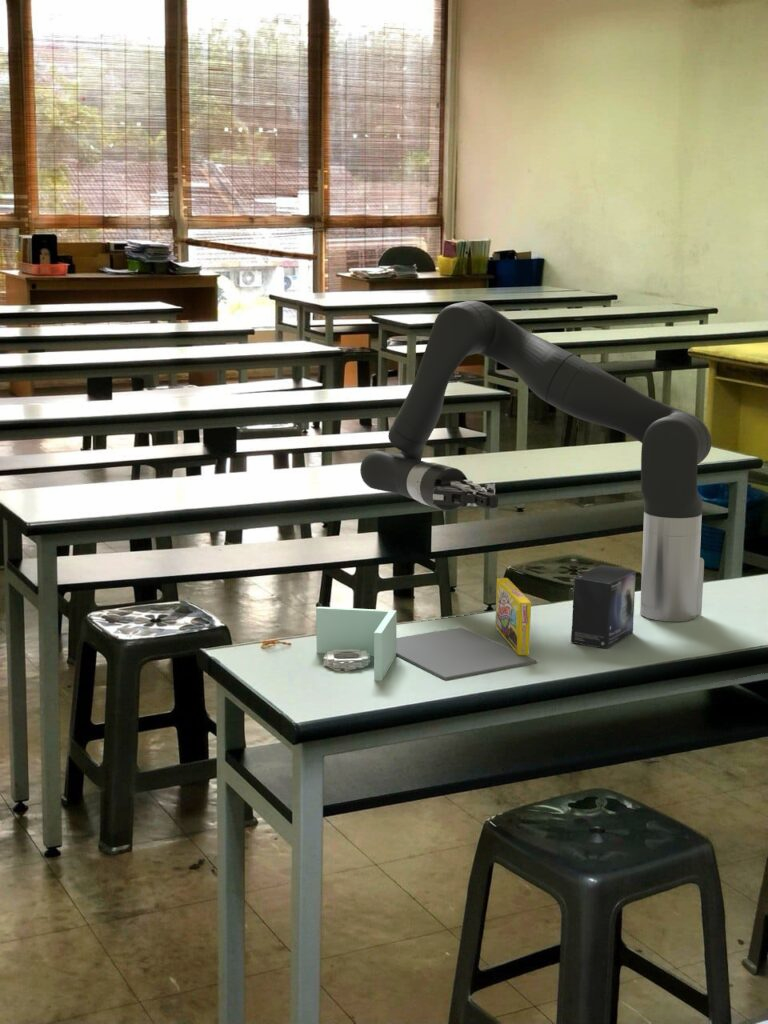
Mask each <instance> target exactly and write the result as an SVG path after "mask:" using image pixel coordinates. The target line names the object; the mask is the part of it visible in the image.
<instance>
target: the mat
mask: <svg viewBox="0 0 768 1024" xmlns="http://www.w3.org/2000/svg"><path fill="white" fill-rule="evenodd" d="M396 657H399V658H401V659H402V660H405V661H406V662H409V663H410V664H413V665H414V666H416V667H418V668H421V669H422V670H424V671H427V672H428V673H430V674H432V675H434V676H435V677H438V678H440V679H442V680H445V681H448V680H454V679H459V678H463V677H468V676H469V677H470V676H474V675H475V676H476V675H479V674H484V673H490V672H495V671H500V670H507V669H511V668H517V667H522V666H527V665H531V664H537V663H538V660H537V659H535V658H534V657H532V656H529V655H527V656H522V655H518V654H517V653H516V651H515V650H514V649H513V648H510V647H509V646H506V645H503V644H501V643H499V642H497V641H494V640H492V639H489V638H487V637H485V636H483V635H481V634H478V633H476V632H473V631H471V630H469V629H466V628H464V627H455V628H447V629H442V630H435V631H430V632H424V633H419V634H418V633H417V634H412V635H407V636H399V637H396Z"/></svg>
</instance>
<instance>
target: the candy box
mask: <svg viewBox="0 0 768 1024" xmlns="http://www.w3.org/2000/svg"><path fill="white" fill-rule="evenodd" d="M495 595H496V596H495V628H496V629H497V631H498V632H499V633H500V634H501V636H502V637H503V638H504V639H505V640H506V642H507V643H508V644H509V646H510V647H511V649H513V650H515V651H516V653H517V654H518V655H522V656H529V655H530V644H531V621H532V620H531V616H532V615H531V613H532V602H531V601H530V600H529V599H528V598H527V596H526V595H525V594H524V593H523V592H522V591H521V590H520V589H519V588H518V587H517V586H516V585H515V584H514V583H513V582H512V581H511V580H510V579H509V578H508V577H498V578H497V579H496V594H495Z"/></svg>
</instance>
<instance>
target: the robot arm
mask: <svg viewBox="0 0 768 1024" xmlns="http://www.w3.org/2000/svg"><path fill="white" fill-rule="evenodd" d="M476 354H477V355H480V356H484V357H486V358H488V359H490V360H491V359H492V360H493V361H495V362H497V363H499V364H501V365H503V366H505V367H506V368H509V369H510V370H511V371H513V372H514V373H515V374H516V375H517V376H518V377H519V378H520V379H521V380H522V381H523V382H524V384H525V386H527V387H528V388H529V389H530V390H531V392H532V393H533V394H535V395H536V396H537V397H538V398H539V399H541V400H543V401H544V402H546V403H547V404H549V405H551V406H553V407H554V408H556V409H558V410H559V411H562V412H563V413H566V414H568V415H569V416H571V417H574V418H576V419H579V420H581V421H585V422H588V423H592V424H594V425H599V426H602V427H606V428H609V429H613V430H616V431H617V432H618V431H619V432H621V433H624V434H625V435H627V436H629V437H631V438H633V439H635V440H636V441H638V442H639V443H641V452H640V455H641V456H640V488H641V489H640V490H641V496H642V499H643V503H644V504H643V505H644V508H643V509H644V510H643V511H644V512H643V530H642V531H643V533H642V534H643V535H642V557H641V558H642V559H641V560H642V561H641V581H640V583H641V584H640V606H639V607H640V609H639V611H640V612H639V613H640V614H641V616H643V617H644V618H647V619H652V620H656V621H663V622H686V621H691V620H694V619H696V618H697V616H701V615H702V612H703V611H702V610H703V592H704V591H703V589H704V575H705V574H704V573H705V571H704V570H705V560H704V558H703V557H701V541H702V540H701V537H702V521H703V520H702V517H703V516H702V513H703V498H702V497H701V495H700V494H699V491H698V465H699V464H700V463H702V462H703V461H704V460H705V459H706V458H707V457H708V455H709V454H710V452H711V449H712V437H711V433H710V430H709V428H708V427H707V426H706V424H705V423H704V422H703V421H702V420H701V419H700V418H699V417H697V416H696V415H693V414H691V413H689V412H686V411H684V410H681V409H680V408H676V407H674V406H671V405H669V404H666V403H663V402H661V401H659V400H656V399H654V398H653V397H650V396H647V395H646V394H644V393H642V392H640V391H638V390H637V389H635V388H633V387H632V386H630V385H629V384H628V383H625V382H624V381H622V380H620V379H619V378H617V377H615V376H613V375H612V374H610V373H609V372H606V371H605V370H603V369H601V368H600V367H598V366H596V365H595V364H593V363H591V362H589V361H587V360H585V359H584V358H581V357H580V356H578V355H576V354H574V353H573V352H570V351H568V350H566V349H563V348H561V347H560V346H558V345H555V344H554V343H552V342H550V341H548V340H547V339H544V338H542V337H540V336H537V335H535V334H533V333H531V332H529V331H527V330H525V329H524V328H522V327H521V326H520V325H518V324H517V323H515V322H513V321H512V320H511V319H509V318H508V317H506V316H505V315H503V314H502V313H500V312H499V311H498V310H496V309H495V308H493V307H492V306H490V305H488V304H486V303H484V302H483V301H478V300H467V301H462V302H457V303H453V304H450V305H447V306H445V307H444V308H443V309H442V310H440V312H439V313H438V314H437V316H436V317H435V320H434V323H433V325H432V327H431V331H430V334H429V337H428V341H427V343H426V346H425V351H424V352H423V356H422V359H421V361H420V364H419V367H418V370H417V373H416V374H415V377H414V379H413V383H412V385H411V387H410V390H409V391H408V394H407V396H406V397H405V399H404V402H403V403H402V405H401V408H400V409H399V412H398V413H397V415H396V417H395V419H394V421H393V423H392V424H391V427H390V428H389V431H388V435H387V436H388V440H389V442H390V444H391V445H392V446H394V447H395V448H396V449H398V450H399V451H401V452H399V453H393V452H387V451H383V450H382V451H381V450H375V451H372V452H369V453H368V454H367V455H365V457H364V458H363V460H362V461H361V463H360V468H359V469H360V476H361V479H362V482H363V483H364V484H365V485H366V486H367V487H369V488H371V489H374V490H377V491H383V492H388V493H393V494H398V495H401V496H402V497H406V498H408V499H412V500H414V501H416V502H418V503H421V504H422V505H425V506H429V507H432V508H435V509H438V510H442V511H444V512H451V511H455V510H457V509H458V508H461V507H462V508H464V507H469V506H472V507H481V508H484V509H485V508H486V509H488V510H490V509H497V508H498V507H499V506H498V505H499V496H498V495H497V494H496V483H494V482H490V483H487V484H485V485H484V487H482V486H481V485H480V484H479V483H475V482H474V481H472V480H471V479H468V477H467V476H466V475H465V473H464V472H463V471H462V470H461V469H458V468H456V467H452V466H448V465H444V464H440V463H436V462H429V461H423V460H422V458H423V454H424V450H425V446H426V445H427V442H428V441H429V438H430V437H431V436H432V433H433V431H434V429H435V427H436V425H437V423H438V421H439V419H440V417H441V414H442V411H443V406H444V401H445V394H446V391H447V388H448V385H449V382H450V381H451V378H452V376H453V375H454V373H455V371H456V370H457V369H458V367H459V366H460V365H461V363H462V362H463V361H464V360H465V358H467V357H469V356H472V355H476Z"/></svg>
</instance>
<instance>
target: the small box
mask: <svg viewBox="0 0 768 1024" xmlns="http://www.w3.org/2000/svg"><path fill="white" fill-rule="evenodd" d="M636 573H637V570H633V569H626V568H621V567H615V566H610V565H605V564H600V565H599V566H596V567H593V568H592V569H590V570H587V571H585V572H583V573H581V574H579V575H576V576H574V578H573V595H572V596H573V597H572V619H571V633H570V634H571V635H570V643H572V644H574V643H575V644H580V645H585V646H591V647H596V648H601V649H608V648H610V647H611V646H614V645H615V644H617V643H618V642H620V641H622V640H623V639H626V638H627V637H629V636H631V635H632V634H634V619H635V618H634V615H635V598H636V597H635V596H636V595H635V593H636V575H637V574H636Z"/></svg>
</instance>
